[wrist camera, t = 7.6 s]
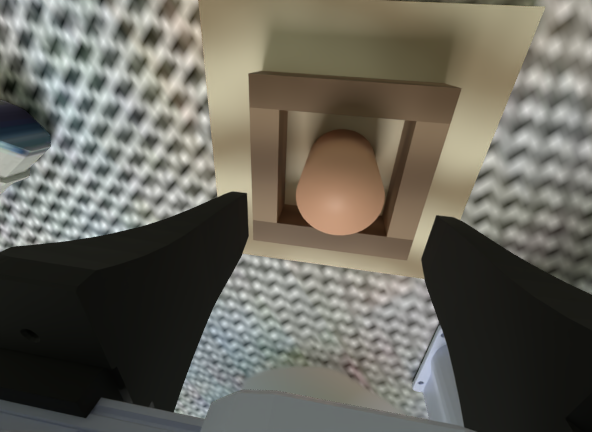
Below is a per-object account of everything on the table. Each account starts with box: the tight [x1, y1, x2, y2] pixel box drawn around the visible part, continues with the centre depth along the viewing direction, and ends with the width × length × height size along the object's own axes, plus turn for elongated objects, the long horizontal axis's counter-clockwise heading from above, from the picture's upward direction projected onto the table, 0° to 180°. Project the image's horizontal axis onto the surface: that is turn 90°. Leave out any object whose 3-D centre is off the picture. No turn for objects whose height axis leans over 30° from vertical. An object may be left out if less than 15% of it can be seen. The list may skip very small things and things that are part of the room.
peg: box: [296, 129, 385, 235], centre depth 15 cm, size 4×4×5 cm
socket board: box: [198, 0, 545, 279], centre depth 17 cm, size 16×16×4 cm
